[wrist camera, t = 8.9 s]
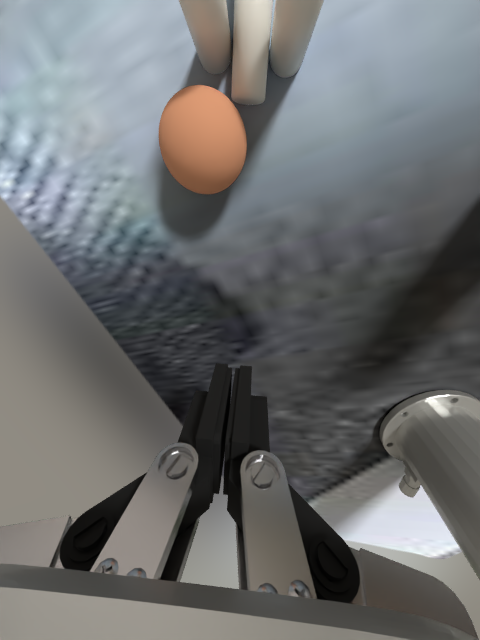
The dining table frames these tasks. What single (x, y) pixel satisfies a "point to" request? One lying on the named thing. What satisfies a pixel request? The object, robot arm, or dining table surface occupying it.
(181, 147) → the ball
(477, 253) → the dining table surface
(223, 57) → the pin
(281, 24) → the pin
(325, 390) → the dining table surface
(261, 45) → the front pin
